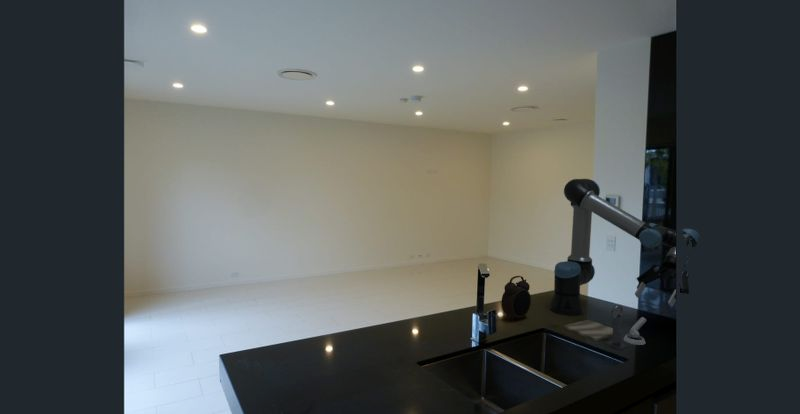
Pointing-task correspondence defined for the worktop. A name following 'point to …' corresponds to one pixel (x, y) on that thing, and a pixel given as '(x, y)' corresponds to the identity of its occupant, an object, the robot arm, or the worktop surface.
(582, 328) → the pad
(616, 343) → the eye post
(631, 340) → the hook
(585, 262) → the robot arm
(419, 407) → the worktop surface
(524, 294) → the alarm clock
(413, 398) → the worktop surface
